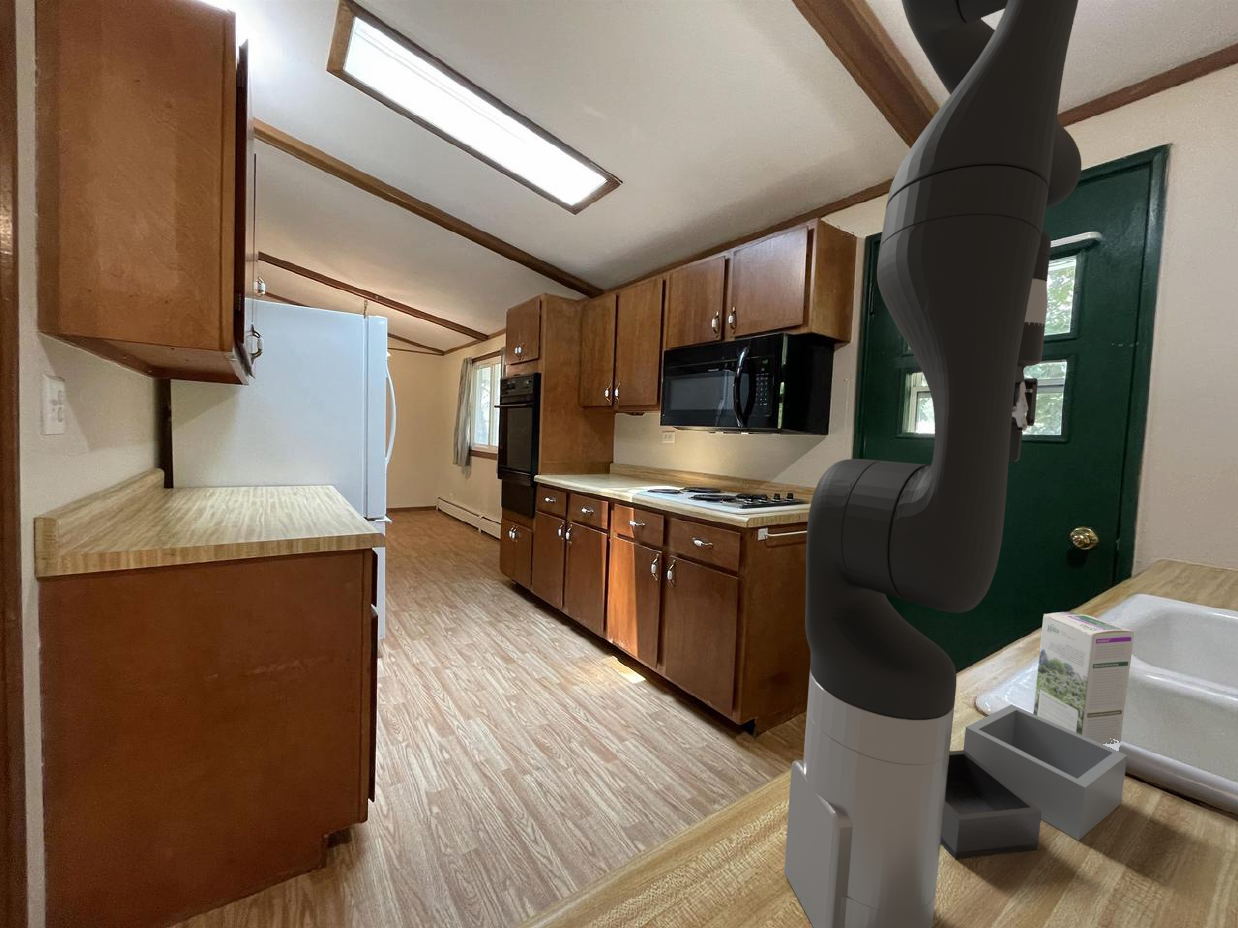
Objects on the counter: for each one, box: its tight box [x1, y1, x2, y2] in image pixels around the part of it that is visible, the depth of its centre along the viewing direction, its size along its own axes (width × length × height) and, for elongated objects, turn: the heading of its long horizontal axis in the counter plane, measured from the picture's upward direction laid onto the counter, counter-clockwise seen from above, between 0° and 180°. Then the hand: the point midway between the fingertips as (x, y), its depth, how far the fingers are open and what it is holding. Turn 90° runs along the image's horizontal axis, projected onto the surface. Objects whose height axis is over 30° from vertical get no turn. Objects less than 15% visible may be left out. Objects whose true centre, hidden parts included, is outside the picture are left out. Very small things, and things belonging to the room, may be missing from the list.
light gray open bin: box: [962, 704, 1128, 841], centre depth 51 cm, size 10×10×5 cm
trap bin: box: [940, 749, 1042, 860], centre depth 46 cm, size 8×8×4 cm
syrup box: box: [1032, 611, 1135, 744], centre depth 58 cm, size 6×6×14 cm
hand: (990, 460), depth 61 cm, fingers open, 8 cm apart
